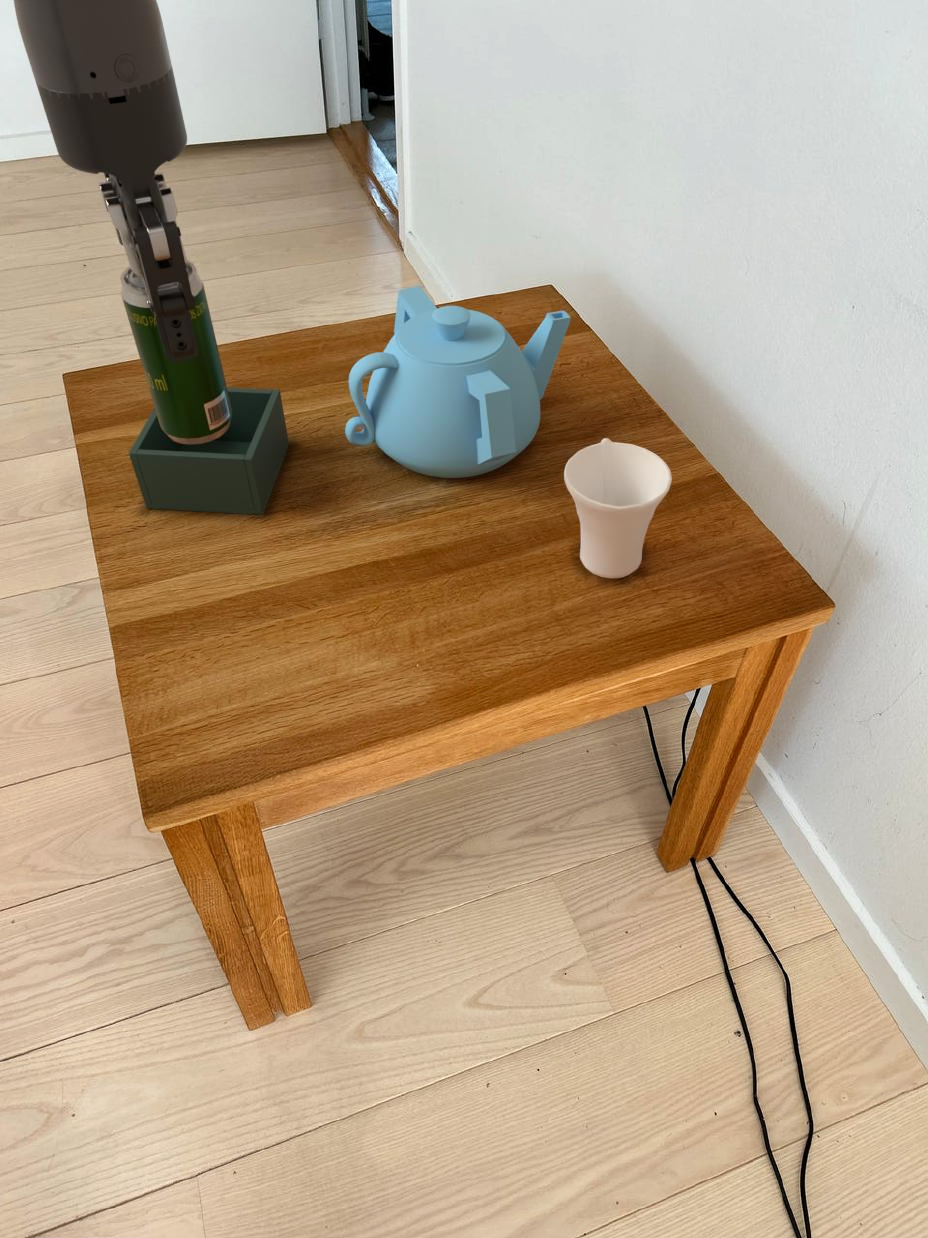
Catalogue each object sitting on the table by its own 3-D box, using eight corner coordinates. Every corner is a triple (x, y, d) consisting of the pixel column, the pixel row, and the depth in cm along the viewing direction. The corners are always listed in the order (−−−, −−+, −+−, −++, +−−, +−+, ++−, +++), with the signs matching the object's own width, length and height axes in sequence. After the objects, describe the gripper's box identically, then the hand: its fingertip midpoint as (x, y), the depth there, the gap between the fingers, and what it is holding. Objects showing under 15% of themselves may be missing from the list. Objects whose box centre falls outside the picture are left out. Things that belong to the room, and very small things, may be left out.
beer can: (247, 412, 71) (215, 261, 62) (211, 453, 68) (171, 299, 59) (186, 399, 72) (146, 250, 64) (147, 438, 69) (99, 285, 60)
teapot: (500, 509, 88) (504, 382, 78) (324, 462, 94) (307, 337, 84) (565, 406, 100) (576, 284, 91) (406, 369, 106) (400, 250, 96)
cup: (643, 522, 87) (659, 433, 80) (664, 591, 81) (683, 502, 73) (550, 526, 87) (557, 437, 79) (563, 596, 80) (572, 507, 73)
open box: (146, 508, 89) (128, 453, 84) (181, 438, 97) (167, 384, 92) (263, 515, 88) (251, 459, 83) (289, 444, 96) (280, 389, 91)
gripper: (19, 38, 56) (103, 302, 68) (49, 116, 47) (139, 403, 59) (145, 22, 58) (204, 281, 70) (197, 93, 49) (254, 376, 61)
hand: (174, 335), depth 64 cm, fingers closed on beer can, 5 cm apart
